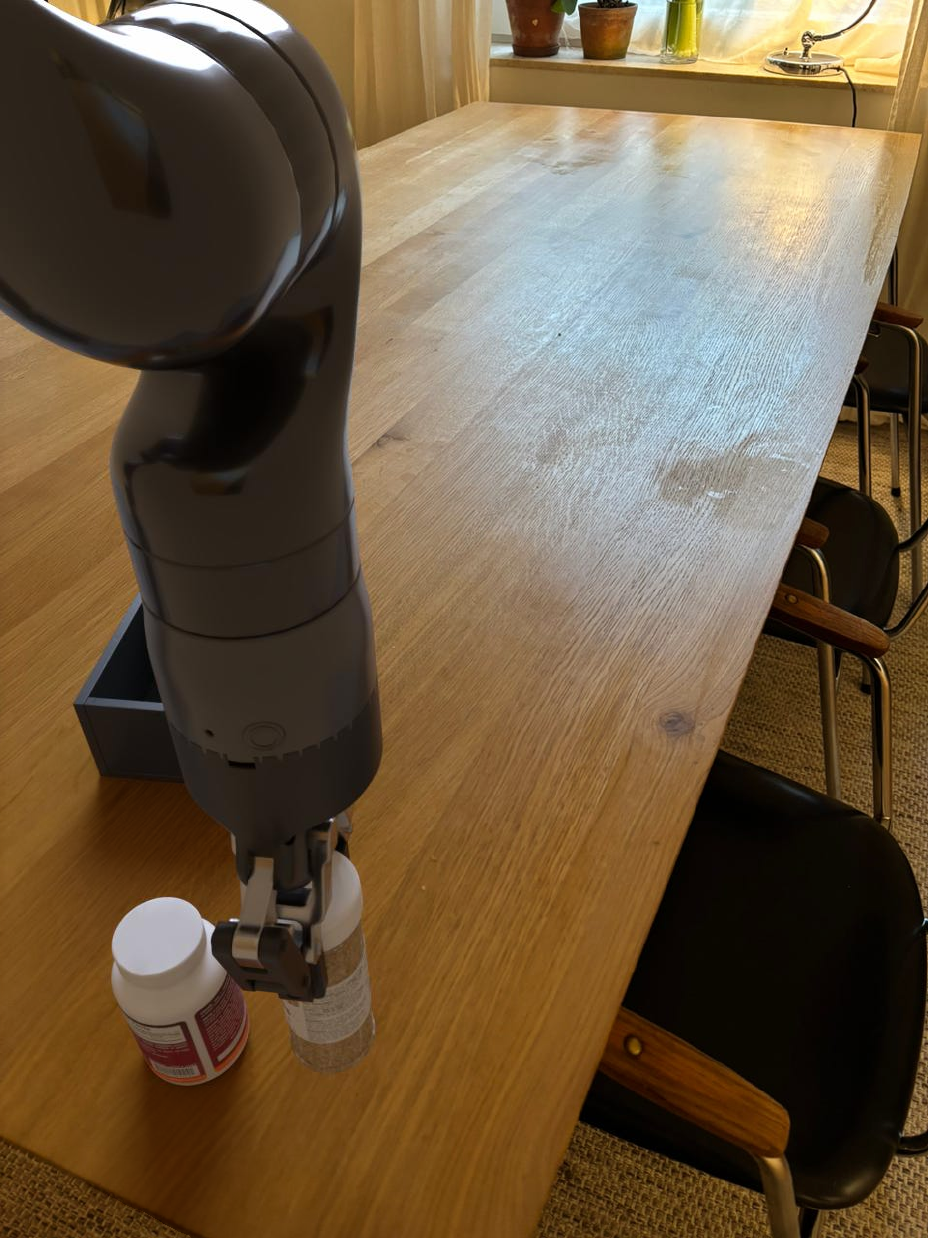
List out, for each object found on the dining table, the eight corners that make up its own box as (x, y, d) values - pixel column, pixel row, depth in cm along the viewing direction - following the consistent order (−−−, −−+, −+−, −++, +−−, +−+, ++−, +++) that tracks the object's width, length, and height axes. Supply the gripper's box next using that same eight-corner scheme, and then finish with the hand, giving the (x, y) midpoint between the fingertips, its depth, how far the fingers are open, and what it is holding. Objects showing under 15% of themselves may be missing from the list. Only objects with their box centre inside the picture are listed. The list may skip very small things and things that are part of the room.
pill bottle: (228, 970, 62) (194, 865, 55) (267, 1052, 58) (237, 950, 51) (130, 1021, 59) (82, 918, 52) (164, 1111, 55) (117, 1013, 48)
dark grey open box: (99, 775, 74) (72, 704, 69) (158, 661, 83) (138, 590, 79) (263, 790, 73) (248, 718, 68) (304, 672, 82) (293, 601, 77)
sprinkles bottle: (288, 1002, 53) (254, 849, 45) (373, 988, 54) (355, 835, 45) (291, 1086, 50) (255, 939, 41) (382, 1071, 50) (364, 922, 42)
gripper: (226, 543, 41) (278, 808, 52) (83, 823, 30) (187, 1083, 41) (408, 556, 40) (420, 822, 51) (328, 848, 29) (366, 1105, 40)
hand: (316, 937), depth 46 cm, fingers closed on sprinkles bottle, 4 cm apart
